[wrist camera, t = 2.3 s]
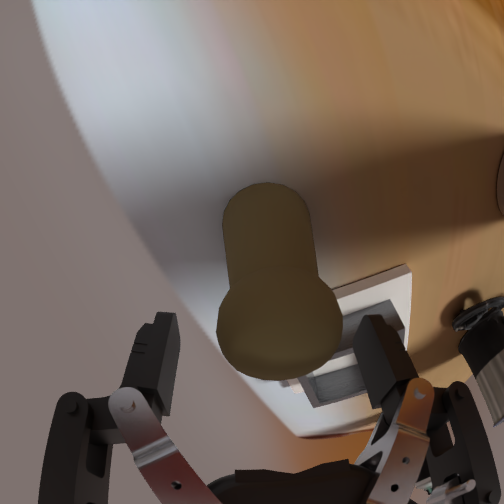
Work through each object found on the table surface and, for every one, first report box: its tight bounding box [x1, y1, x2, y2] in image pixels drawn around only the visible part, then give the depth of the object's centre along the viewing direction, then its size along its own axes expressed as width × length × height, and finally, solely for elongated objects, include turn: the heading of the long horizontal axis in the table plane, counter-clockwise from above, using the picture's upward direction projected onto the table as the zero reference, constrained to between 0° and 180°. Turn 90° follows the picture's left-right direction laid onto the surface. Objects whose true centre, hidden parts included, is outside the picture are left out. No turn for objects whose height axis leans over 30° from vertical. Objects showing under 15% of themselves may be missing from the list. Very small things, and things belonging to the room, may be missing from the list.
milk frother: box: [452, 297, 504, 427], centre depth 21 cm, size 14×16×15 cm
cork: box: [216, 182, 343, 381], centre depth 14 cm, size 6×6×11 cm
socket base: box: [287, 264, 412, 394], centre depth 25 cm, size 14×14×1 cm
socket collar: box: [297, 299, 405, 408], centre depth 23 cm, size 10×10×4 cm
